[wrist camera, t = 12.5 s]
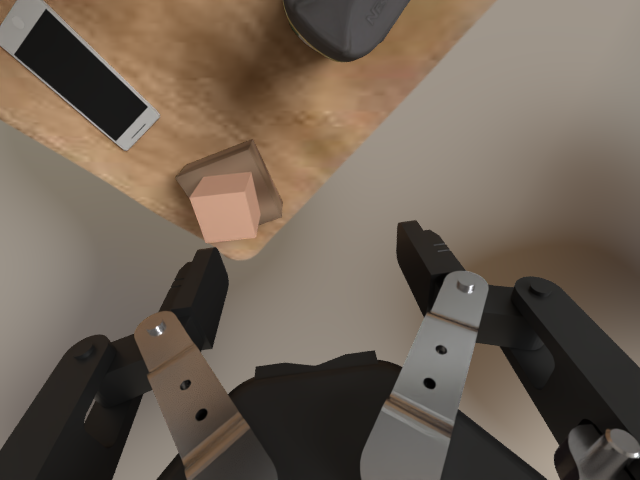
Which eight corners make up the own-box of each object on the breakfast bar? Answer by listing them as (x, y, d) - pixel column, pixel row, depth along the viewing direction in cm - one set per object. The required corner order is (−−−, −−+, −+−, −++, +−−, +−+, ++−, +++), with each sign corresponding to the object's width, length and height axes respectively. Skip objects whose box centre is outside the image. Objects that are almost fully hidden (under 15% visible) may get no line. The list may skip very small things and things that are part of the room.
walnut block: (187, 163, 41) (175, 177, 37) (253, 138, 40) (248, 149, 36) (223, 222, 46) (216, 239, 42) (282, 201, 45) (281, 217, 41)
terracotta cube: (203, 176, 37) (189, 197, 32) (251, 171, 37) (244, 191, 32) (216, 218, 40) (205, 243, 35) (260, 213, 41) (256, 237, 36)
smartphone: (32, -13, 30) (25, -15, 29) (163, 114, 37) (160, 116, 37) (-2, 38, 32) (-10, 38, 31) (128, 150, 40) (125, 152, 39)
